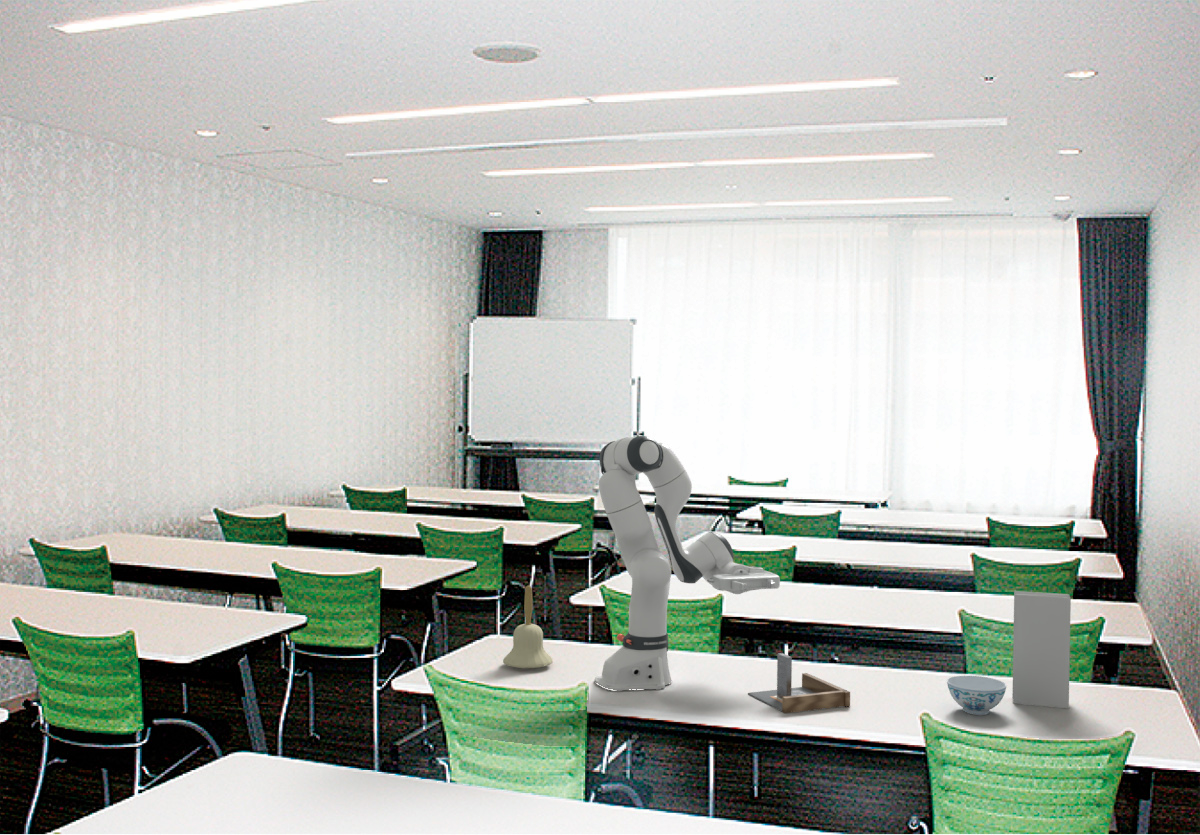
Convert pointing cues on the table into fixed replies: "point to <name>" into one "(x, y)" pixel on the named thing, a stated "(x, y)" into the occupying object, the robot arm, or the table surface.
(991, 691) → the chinaware
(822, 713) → the table surface
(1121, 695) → the table surface
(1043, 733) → the table surface
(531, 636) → the handbell
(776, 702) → the mat
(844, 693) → the brown wooden corner frame
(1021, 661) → the tall grey block
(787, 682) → the bracket
